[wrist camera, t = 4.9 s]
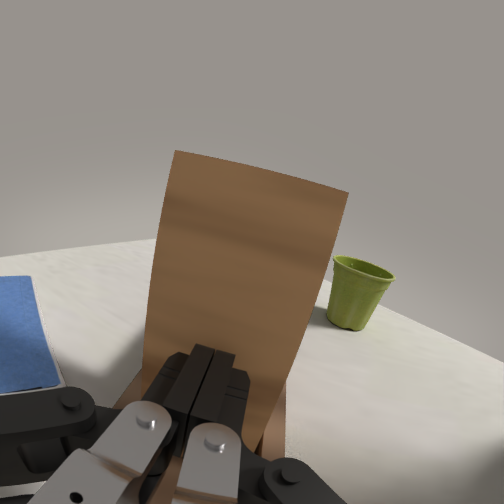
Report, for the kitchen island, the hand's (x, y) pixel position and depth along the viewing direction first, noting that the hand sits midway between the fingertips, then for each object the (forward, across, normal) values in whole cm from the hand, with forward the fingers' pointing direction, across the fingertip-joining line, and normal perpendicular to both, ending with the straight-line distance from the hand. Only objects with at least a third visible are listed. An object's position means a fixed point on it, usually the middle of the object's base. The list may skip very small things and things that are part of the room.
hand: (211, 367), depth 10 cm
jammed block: (+4, 0, +8) cm, 9 cm away
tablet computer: (+4, +21, +10) cm, 23 cm away
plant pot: (+30, -15, +9) cm, 34 cm away
